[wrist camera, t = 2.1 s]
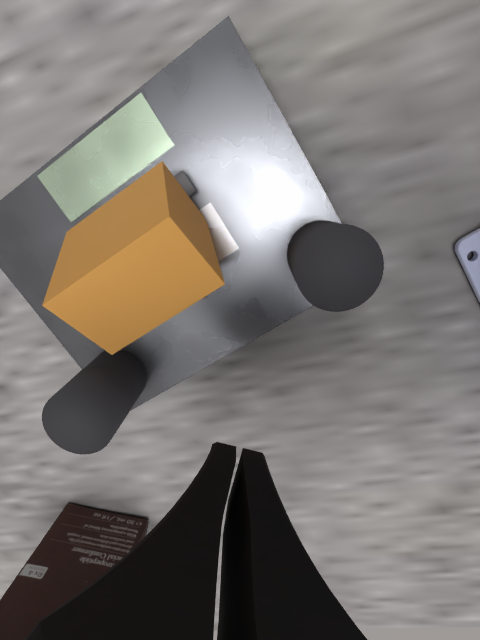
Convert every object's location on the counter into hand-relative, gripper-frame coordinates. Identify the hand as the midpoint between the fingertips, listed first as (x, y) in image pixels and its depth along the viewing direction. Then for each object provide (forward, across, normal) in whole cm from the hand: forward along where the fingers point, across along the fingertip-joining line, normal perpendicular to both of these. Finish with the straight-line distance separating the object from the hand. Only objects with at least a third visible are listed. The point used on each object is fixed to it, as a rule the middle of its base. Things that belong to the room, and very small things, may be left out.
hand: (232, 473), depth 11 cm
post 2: (+8, -2, -6) cm, 10 cm away
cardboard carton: (+8, +6, -6) cm, 12 cm away
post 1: (+8, +6, +2) cm, 10 cm away
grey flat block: (+10, +5, -5) cm, 13 cm away
